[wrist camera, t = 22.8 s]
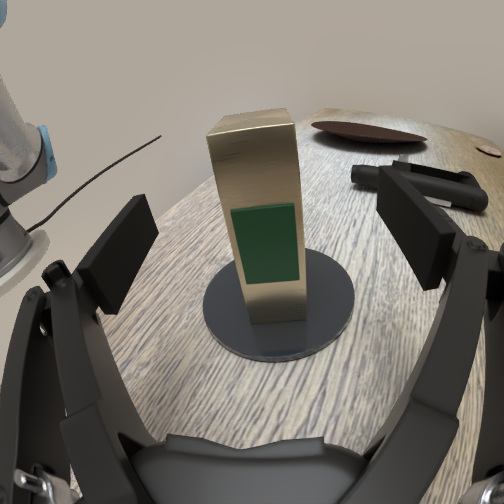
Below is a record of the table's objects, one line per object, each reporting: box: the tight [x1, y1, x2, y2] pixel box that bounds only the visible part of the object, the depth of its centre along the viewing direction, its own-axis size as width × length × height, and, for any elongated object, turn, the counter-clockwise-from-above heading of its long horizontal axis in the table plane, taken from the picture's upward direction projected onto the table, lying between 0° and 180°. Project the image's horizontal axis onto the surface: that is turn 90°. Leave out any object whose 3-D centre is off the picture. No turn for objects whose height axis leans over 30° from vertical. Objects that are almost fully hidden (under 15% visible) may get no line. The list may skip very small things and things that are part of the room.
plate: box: [311, 121, 427, 143], centre depth 55 cm, size 28×28×4 cm
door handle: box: [351, 154, 488, 211], centre depth 33 cm, size 3×20×16 cm
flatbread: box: [476, 144, 502, 156], centre depth 45 cm, size 8×8×1 cm
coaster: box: [203, 248, 355, 362], centre depth 21 cm, size 12×12×1 cm
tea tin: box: [206, 108, 307, 324], centre depth 17 cm, size 6×4×13 cm, turn 177°
